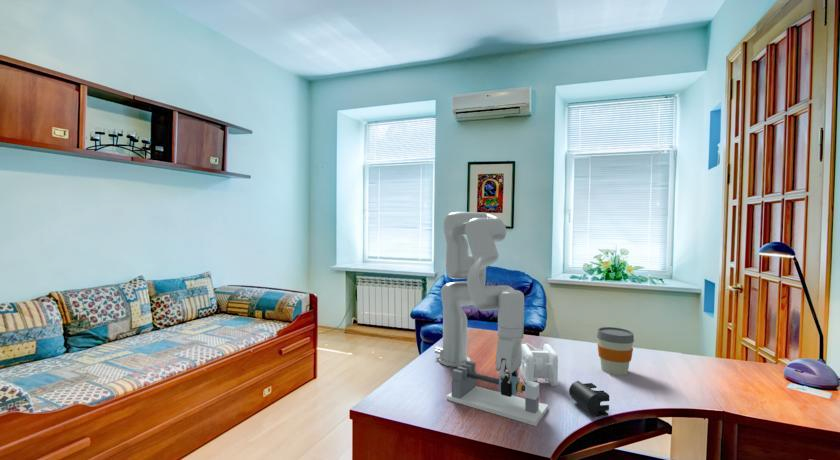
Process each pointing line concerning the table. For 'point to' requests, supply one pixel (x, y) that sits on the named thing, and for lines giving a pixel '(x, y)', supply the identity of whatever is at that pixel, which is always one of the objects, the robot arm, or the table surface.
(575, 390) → the end cap
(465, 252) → the robot arm
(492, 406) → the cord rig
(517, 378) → the sleeve
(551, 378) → the cable organizer
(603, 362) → the reusable coffee cup
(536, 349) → the pale grey flat piece
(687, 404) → the table surface
